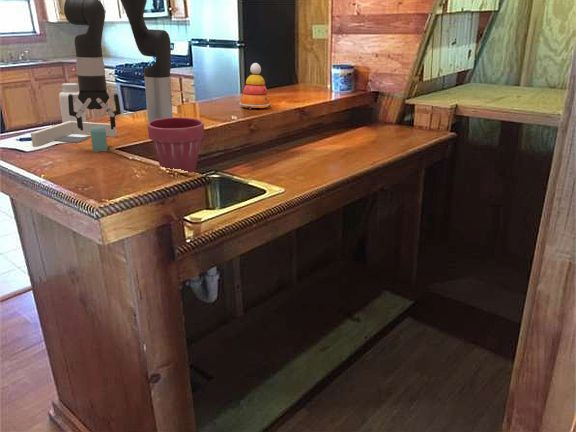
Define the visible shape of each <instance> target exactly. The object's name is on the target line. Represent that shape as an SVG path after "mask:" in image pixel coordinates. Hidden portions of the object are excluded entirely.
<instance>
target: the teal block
mask: <svg viewBox="0 0 576 432" xmlns="http://www.w3.org/2000/svg"><path fill="white" fill-rule="evenodd" d="M90 139H91V146H92V152H93V153H100V152H99V151H106V152H108V143H107V142H108V140H107V136H106V130H105V127H91V135H90Z"/></svg>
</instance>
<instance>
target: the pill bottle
mask: <svg viewBox="0 0 576 432" xmlns="http://www.w3.org/2000/svg"><path fill="white" fill-rule="evenodd" d="M61 90H62V91H60V92H59V95H58V100H59V108H60V114H61V119H62V120H61V121H62V122H61V123H64V122H68V121H77V118H76V117H74V116H70V115H69V104H68V95H69V94H72V95H79V85H78V83H76V82H72V83H71V82H69V83H67V82H66V83H62V84H61ZM73 103H74V111H75V112H78V111H79V109H80V108H81V106H82V105H83V104H82V102H81V101H80V100H79V99H76V102H73ZM86 115H87V114H86V110H85V111H84V112H83V114H82V115H81V117H82V122H87V116H86Z"/></svg>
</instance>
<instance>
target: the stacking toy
mask: <svg viewBox="0 0 576 432" xmlns="http://www.w3.org/2000/svg"><path fill="white" fill-rule="evenodd" d="M249 69H250V73H251V74H250V75H249V76H248V77H247V78H246V80H245V86H244V88H243V90H242V91H243V92H242V93H243V94H242V96H241V98H240V102H239V106H240V105H243V106H251V107H257V106H267V105H270V104H271V105H272V103H271V102H270V98H269V96H268V89H267V87H266V81H265V79H264V77H263V76H262V75H260V73H262V67H261V65H260V64H259V63H257V62H253V63H252V64H251V65H250V68H249ZM271 105H270V106H271Z"/></svg>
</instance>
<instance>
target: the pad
mask: <svg viewBox="0 0 576 432" xmlns="http://www.w3.org/2000/svg"><path fill="white" fill-rule="evenodd" d="M89 139H90V138H89V137H87V136H86V137H85V136H84V137H83V136H74V135H73V136H71V135H68V136H64V137H61V138H59V139H56V140H54V141H53V142H63V143H64V142H65V143H76V144H77V143H81V142H84V141H86V140H89Z"/></svg>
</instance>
